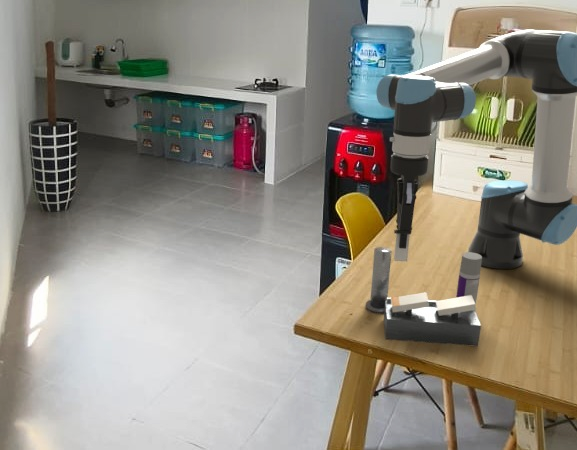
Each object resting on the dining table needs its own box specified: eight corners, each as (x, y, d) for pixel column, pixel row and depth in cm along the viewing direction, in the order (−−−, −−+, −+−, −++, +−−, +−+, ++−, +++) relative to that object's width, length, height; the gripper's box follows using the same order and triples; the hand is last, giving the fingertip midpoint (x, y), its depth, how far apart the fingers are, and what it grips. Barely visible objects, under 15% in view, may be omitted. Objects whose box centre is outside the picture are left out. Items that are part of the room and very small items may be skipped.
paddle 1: (427, 297, 143) (426, 291, 143) (429, 306, 139) (428, 300, 139) (391, 303, 144) (390, 297, 144) (392, 312, 140) (391, 306, 140)
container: (451, 309, 155) (458, 252, 150) (470, 308, 155) (478, 251, 150) (457, 318, 150) (465, 259, 145) (477, 318, 151) (485, 259, 146)
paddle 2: (472, 300, 142) (471, 295, 142) (476, 309, 138) (475, 304, 138) (436, 306, 144) (435, 301, 143) (438, 315, 140) (437, 310, 139)
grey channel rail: (470, 325, 147) (474, 301, 145) (478, 345, 139) (481, 320, 136) (383, 319, 149) (385, 295, 146) (385, 339, 140) (387, 314, 138)
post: (389, 303, 157) (395, 246, 152) (391, 314, 151) (396, 256, 146) (365, 301, 157) (369, 244, 152) (365, 312, 152) (370, 254, 147)
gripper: (389, 145, 137) (381, 247, 145) (393, 160, 124) (384, 271, 133) (425, 147, 136) (415, 249, 144) (432, 162, 124) (421, 273, 132)
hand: (400, 259), depth 138 cm, fingers closed
